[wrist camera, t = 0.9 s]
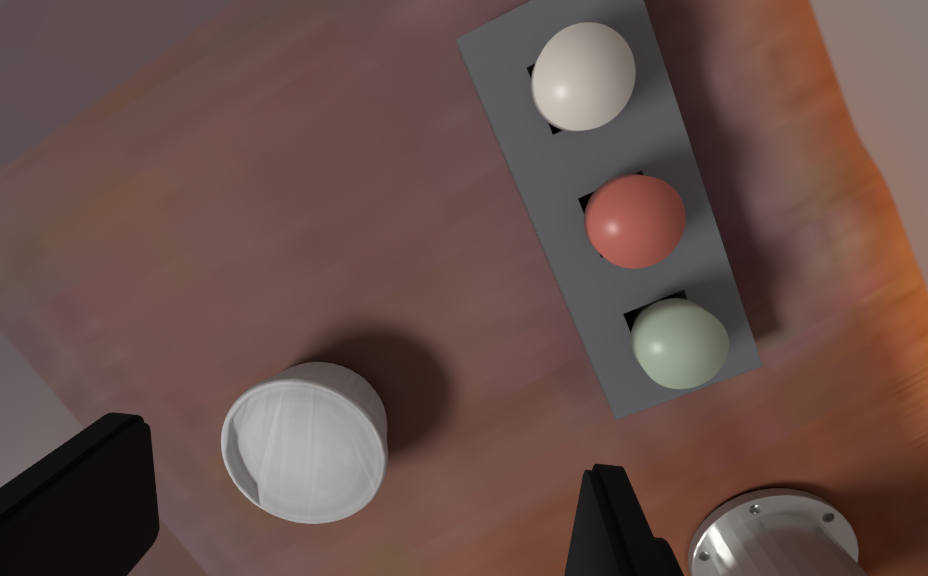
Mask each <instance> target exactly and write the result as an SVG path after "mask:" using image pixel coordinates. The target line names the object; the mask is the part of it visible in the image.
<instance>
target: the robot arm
mask: <svg viewBox="0 0 928 576" xmlns="http://www.w3.org/2000/svg"><path fill="white" fill-rule="evenodd" d="M158 532H159V516H158V505H157V494H156V484H155V473H154V463H153V452H152V442H151V431H150V426H149V425H148V424H147V423H144V420H143V418H142V417H141V416H139V415H133V414H123V413H108V414H106V415H104V416H103V417H101V418H100V419H98V420H97V421H96V422H94V423H93V424H91V425H90V426H88V427H87V428H85V429H84V430H83V431H81V432H80V433H79V434H77V435H75V436H74V437H73V438H71V439H70V440H69V441H67V442H65V443H64V444H63V445H61V446H60V447H58V448H57V449H55V450H54V451H52V452H51V453H50V454H48V455H47V456H45V457H44V458H42V459H41V460H40V461H38V462H37V463H35V464H34V465H32V466H31V467H30V468H28V469H27V470H25V471H24V472H22V473H21V474H19V475H18V476H17V477H15V478H14V479H12V480H11V481H9V482H8V483H7V484H5V485H4V486H2V487H1V488H0V576H127V575H128V574H129V572H130V571H131V570H132V569H133V568H134V566H135V565H136V564H137V563H138V562H139V561H140V559H141V558H142V557H143V556H144V555H145V553H146V552H147V551H148V550H149V548H151V546H152V545H153V543H154V542H155V540H156V538H157V535H158ZM858 554H859V548H858V542H857V537H856V535H855V533H854V531H853V528H852V526H851V525H850V524H849V522H848V521H847V520H846V519H845V517H844V516H843V515H842V514H841V513H840V512H839V511H838V510H837V509H836V508H835V507H834V506H832V505H831V504H830V503H828V502H827V501H825V500H824V499H822V498H821V497H819V496H816V495H813V494H811V493H808V492H806V491H800V490H795V489H788V488H772V489H764V490H757V491H754V492H750V493H747V494H743V495H741V496H739V497H736V498H734V499H732V500H730V501H728V502H726V503H725V504H723V505H722V506H720V507H719V508H717V509H716V510H714V511H713V512H712V513H711V514H710V515H709V516H708V517H707V518H706V519H705V520H704V521H703V523H702V524H701V525H700V527H699V528H698V529H697V531H696V532H695V535H694V537H693V539H692V541H691V543H690V548H689V552H688V569H689V573H690V576H868V575H867V573H866V572H865V571H864V570H863V569H862V568H861V567H860V566H859V565H858ZM565 576H684V575H683V572H682V570H681V568H680V566H679V564H678V562H677V560H676V557H675V555H674V553H673V551H672V549H671V547H670V545H669V544H668V542H667V541H666V540H665V539H663V538H656V537H654V536H653V534H652V532H651V529H650V527H649V525H648V523H647V520H646V518H645V516H644V513H643V511H642V509H641V506H640V504H639V502H638V500H637V497H636V495H635V493H634V490H633V488H632V486H631V483H630V481H629V479H628V476H627V474H626V472H625V470H624V468H623V467H621V466H613V465H603V464H595V465H594V466H593V469H592V470H585V471H584V474H583V478H582V483H581V489H580V494H579V499H578V505H577V510H576V516H575V521H574V526H573V532H572V537H571V542H570V548H569V553H568V559H567V564H566V569H565Z"/></svg>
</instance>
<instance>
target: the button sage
mask: <svg viewBox="0 0 928 576" xmlns="http://www.w3.org/2000/svg"><path fill="white" fill-rule="evenodd" d="M630 344H631V349H632V352H633V354H634V356H635V358H636V359H637V361H638V362H639V363H640V365H641V366H642V368H643V369H644V370H645V372H646V373H647V375H648V376H649V377H650V378H651V379H652V380H654V381H655V382H656V383H658V384H660V385H662V386H664V387H668V388H672V389H688V388H693V387H696V386H699V385H701V384H703V383H705V382H707V381H708V380H710V379H711V378H713V377H714V376H715V375H716V374H717V373H718V372H719V370H720V369H721V368H722V366H723V365H724V363H725V361H726V358H727V355H728V351H729V338H728V334H727V332H726V329H725V328H724V326H723V324H722V323H721V322H720V321H719V320H718V319H717V318H716V317H715V316H713V315H712V314H710V313H709V312H708V311H706V310H705V309H704V308H702V307H701V306H699V305H698V304H696V303H694V302H692V301H690V300H686V299H681V298H671V299H665V300H657V301H654V302H652V303H649V304H647V305H644V306H642V307H640V308H639V309H638V310H637V311H636V313H635V315H634V318H633V327H632V331H631V336H630Z"/></svg>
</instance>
